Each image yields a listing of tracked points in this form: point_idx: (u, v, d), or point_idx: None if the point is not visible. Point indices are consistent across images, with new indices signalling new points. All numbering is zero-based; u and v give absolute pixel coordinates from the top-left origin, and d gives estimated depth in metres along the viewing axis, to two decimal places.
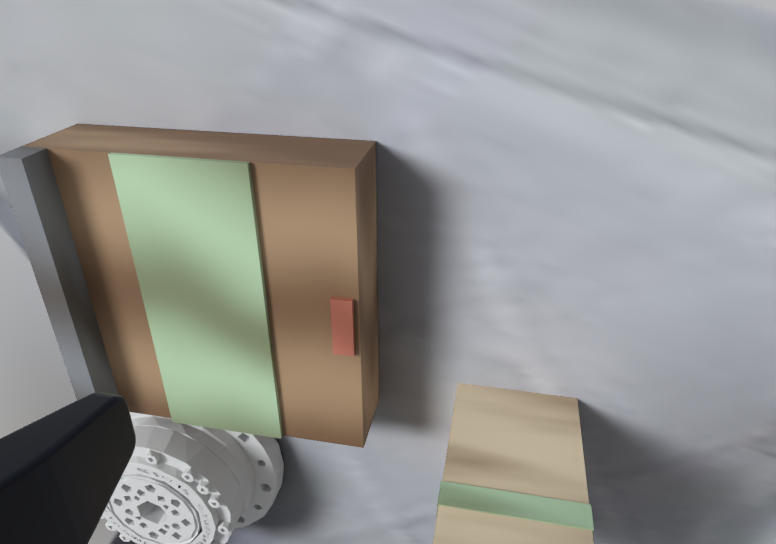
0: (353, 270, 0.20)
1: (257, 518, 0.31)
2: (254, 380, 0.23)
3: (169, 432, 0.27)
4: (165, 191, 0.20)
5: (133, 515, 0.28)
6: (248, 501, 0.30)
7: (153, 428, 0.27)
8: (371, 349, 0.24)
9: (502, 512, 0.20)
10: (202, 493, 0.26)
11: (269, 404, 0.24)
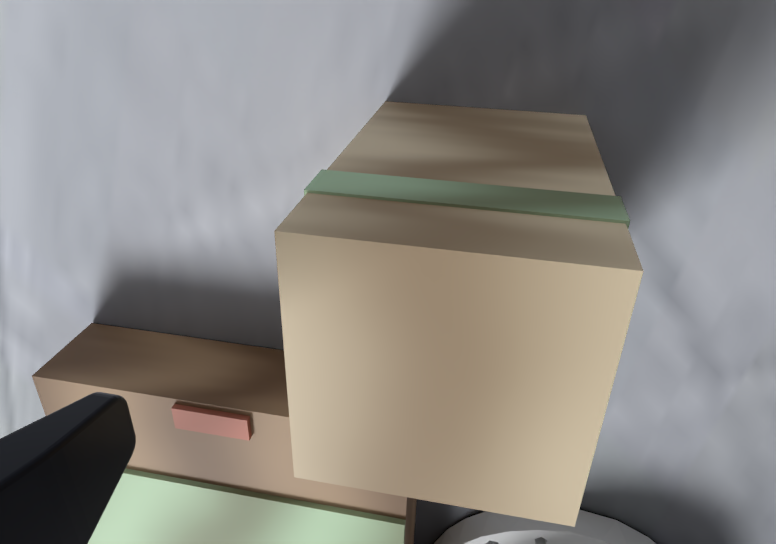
0: (139, 396, 0.18)
1: None
2: (312, 525, 0.19)
3: None
4: (107, 527, 0.21)
5: None
6: None
7: None
8: None
9: None
10: None
11: (347, 521, 0.19)
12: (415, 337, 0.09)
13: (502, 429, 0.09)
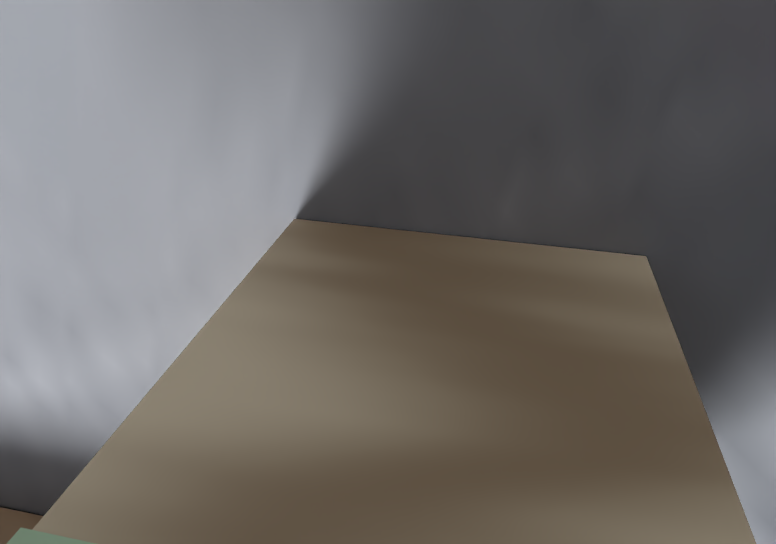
0: None
1: None
2: None
3: None
4: None
5: None
6: None
7: None
8: None
9: None
10: None
11: None
12: None
13: None
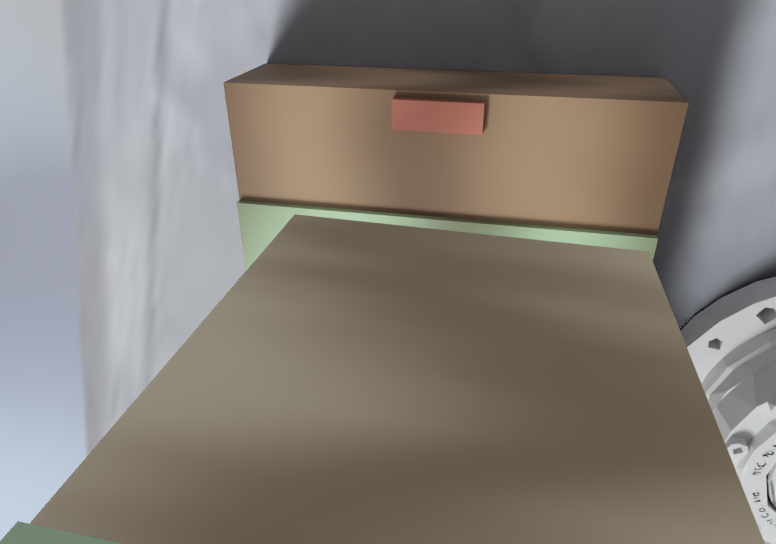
0: (351, 93, 0.16)
1: None
2: None
3: (716, 412, 0.19)
4: None
5: None
6: None
7: None
8: (529, 81, 0.16)
9: None
10: None
11: (584, 243, 0.16)
12: None
13: None
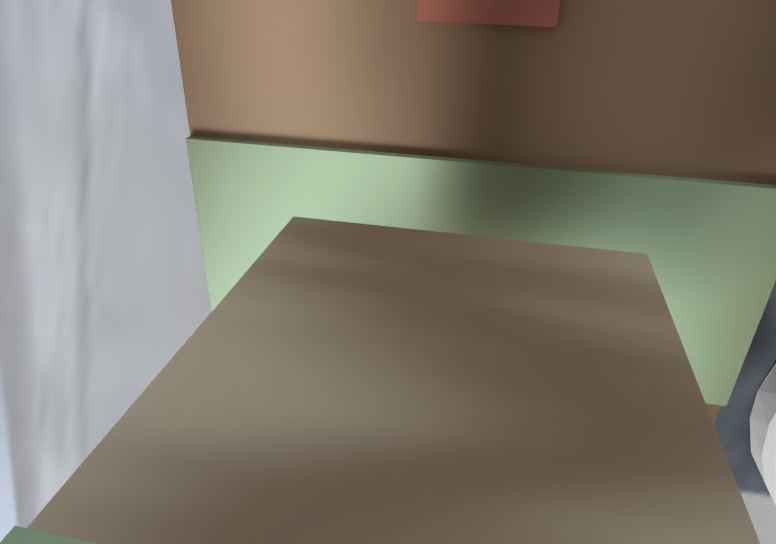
0: None
1: None
2: (624, 218, 0.11)
3: None
4: None
5: None
6: None
7: None
8: None
9: None
10: None
11: (696, 199, 0.11)
12: None
13: None
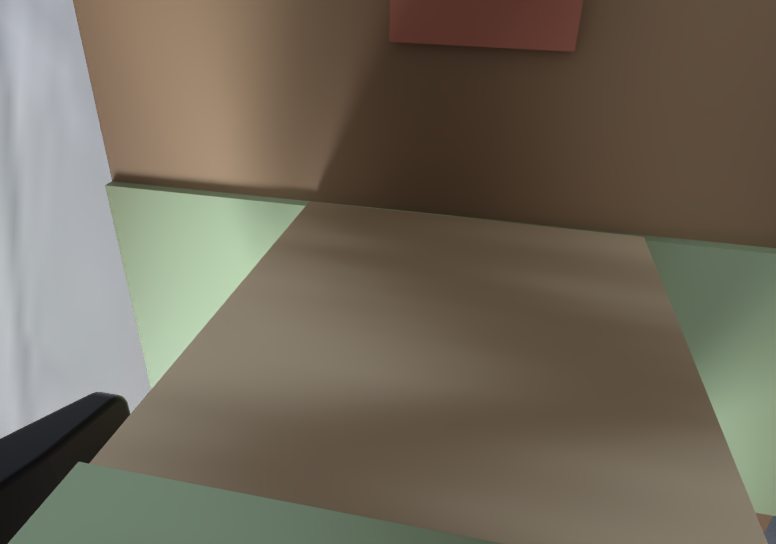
0: None
1: None
2: None
3: None
4: None
5: None
6: None
7: None
8: None
9: None
10: None
11: (755, 273, 0.08)
12: None
13: None
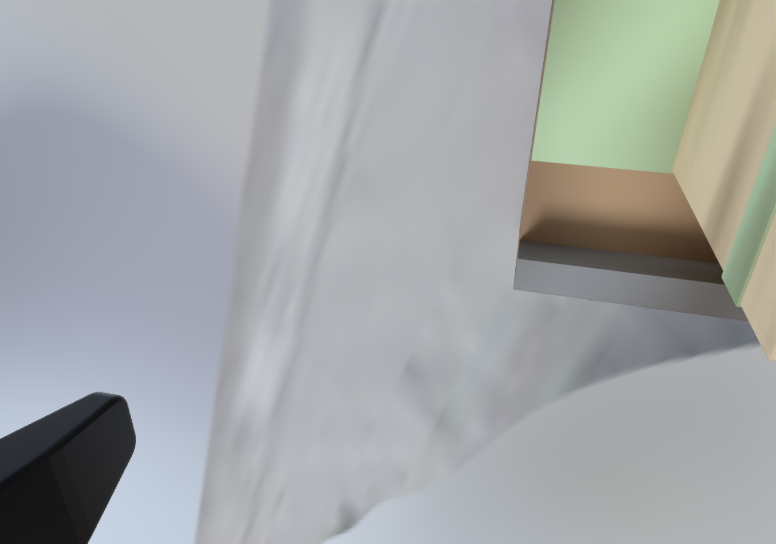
0: None
1: None
2: None
3: None
4: (590, 93, 0.15)
5: None
6: None
7: None
8: None
9: None
10: None
11: None
12: None
13: None
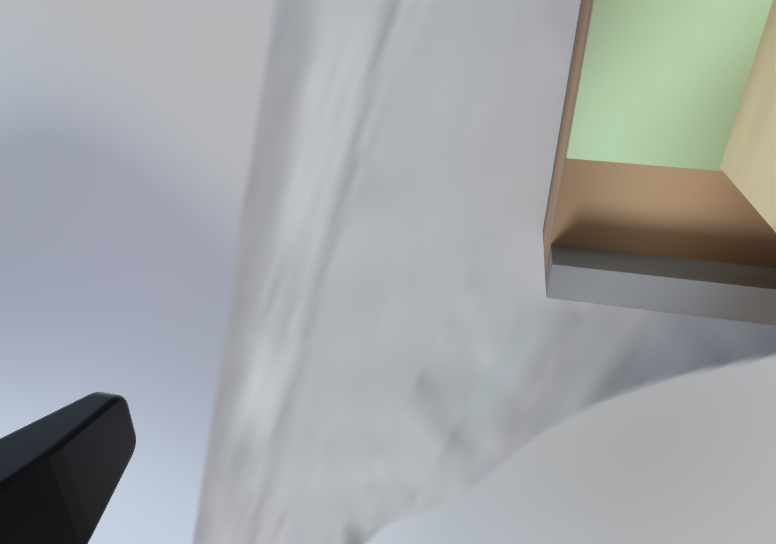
0: None
1: None
2: None
3: None
4: (633, 84, 0.14)
5: None
6: None
7: None
8: None
9: None
10: None
11: None
12: None
13: None
